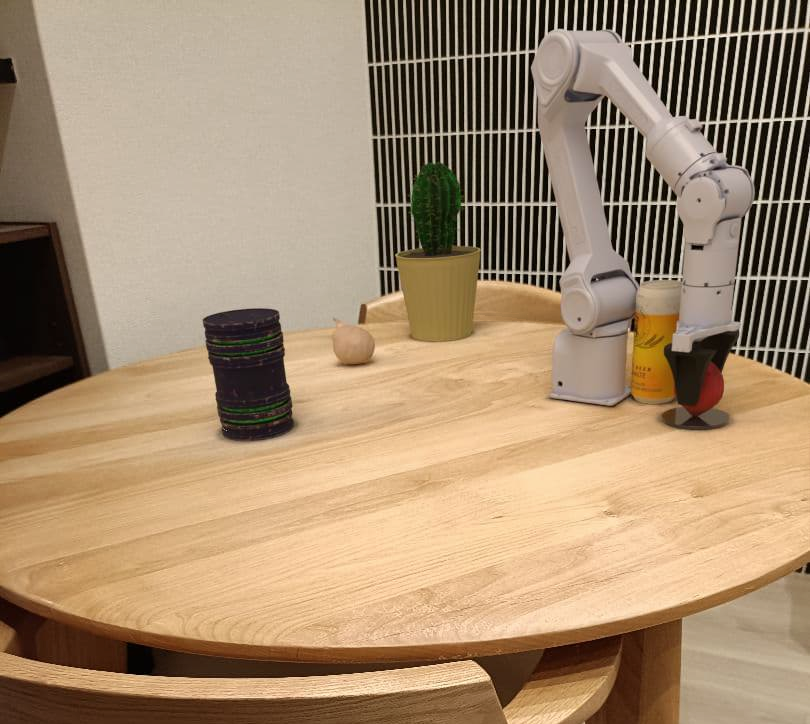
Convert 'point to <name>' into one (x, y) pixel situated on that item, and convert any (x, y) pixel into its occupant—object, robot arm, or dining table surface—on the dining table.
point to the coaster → (695, 419)
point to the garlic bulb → (352, 343)
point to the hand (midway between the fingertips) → (697, 397)
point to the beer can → (654, 340)
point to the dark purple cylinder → (249, 373)
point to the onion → (708, 391)
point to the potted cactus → (438, 261)
